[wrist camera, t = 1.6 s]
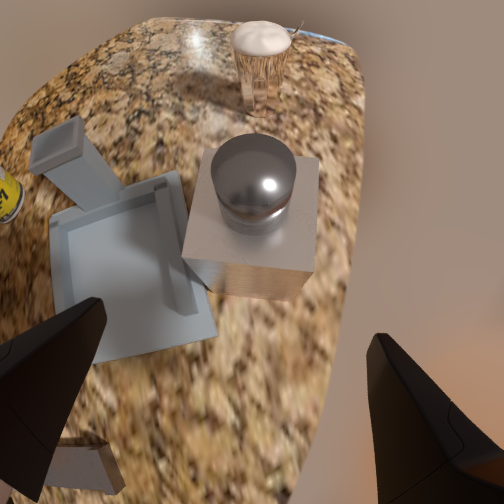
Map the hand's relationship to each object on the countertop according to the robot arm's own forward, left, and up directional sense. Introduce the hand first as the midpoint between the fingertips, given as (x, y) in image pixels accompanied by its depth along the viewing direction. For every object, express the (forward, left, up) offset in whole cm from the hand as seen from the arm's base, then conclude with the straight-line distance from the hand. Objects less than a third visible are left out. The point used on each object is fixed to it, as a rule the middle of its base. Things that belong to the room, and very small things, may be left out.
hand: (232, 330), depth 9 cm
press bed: (+7, +8, -12) cm, 16 cm away
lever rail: (-8, +21, -12) cm, 25 cm away
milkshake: (+19, -7, -12) cm, 24 cm away
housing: (+5, -2, -12) cm, 13 cm away
